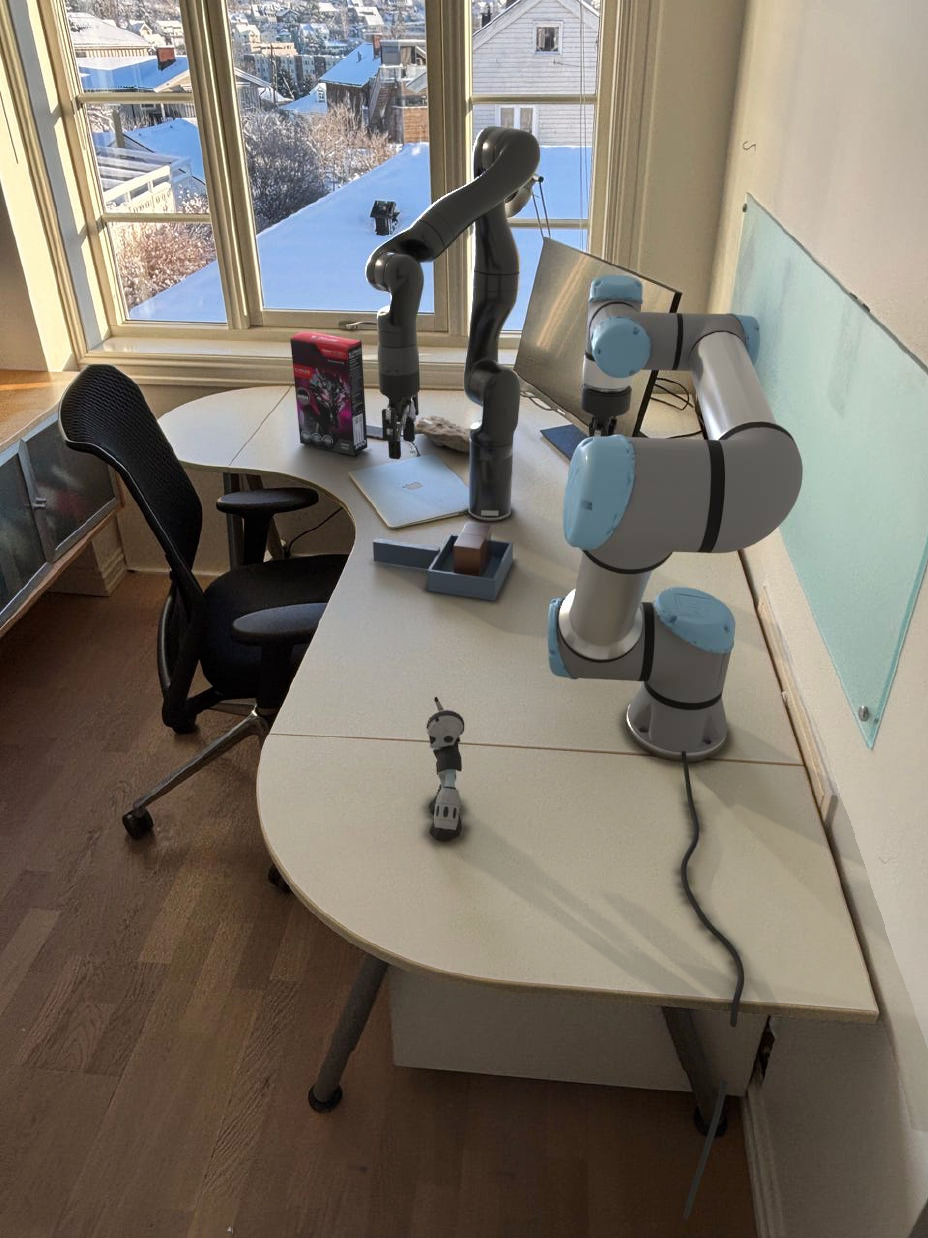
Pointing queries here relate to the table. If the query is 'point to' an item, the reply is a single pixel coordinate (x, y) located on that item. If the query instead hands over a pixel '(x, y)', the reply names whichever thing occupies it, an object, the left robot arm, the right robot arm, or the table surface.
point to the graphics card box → (329, 392)
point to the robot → (446, 772)
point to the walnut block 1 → (481, 530)
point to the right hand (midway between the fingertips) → (594, 510)
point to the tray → (448, 566)
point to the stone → (444, 432)
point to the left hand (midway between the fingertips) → (402, 449)
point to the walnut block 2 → (469, 555)
